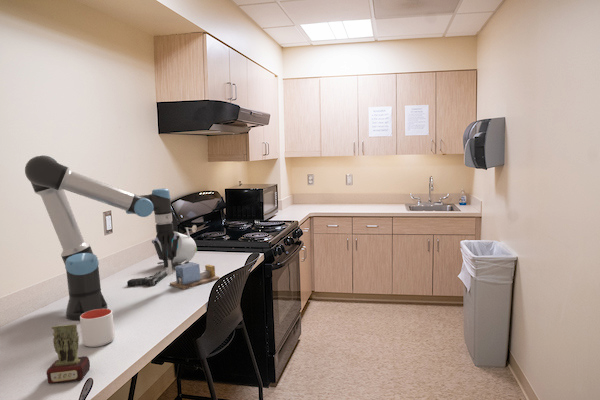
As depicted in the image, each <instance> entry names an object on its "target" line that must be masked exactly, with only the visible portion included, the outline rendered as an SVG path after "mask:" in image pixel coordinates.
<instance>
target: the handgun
mask: <svg viewBox="0 0 600 400" xmlns="http://www.w3.org/2000/svg"><path fill="white" fill-rule="evenodd" d="M168 275H169V274H166V269H163V270H162V271H161V270H160V271H158V272H156V273H155V274H153V275H152V274H151V275H149V276H145V277H137V278H131V279H129V280H128V281H127V287H128V288H131V287H138V286H139V287H141V286H147V287H152V286H153V285H154V286H155V285H157V282H158V283H159V282H160V281H161V280H162V278H163V279H164V278H165V277H166V276H168Z"/></svg>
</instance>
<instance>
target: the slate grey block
mask: <svg viewBox="0 0 600 400" xmlns="http://www.w3.org/2000/svg"><path fill="white" fill-rule="evenodd" d="M174 267H175V279H176V281H177V283H179V278H178V277H182V284H183V285H187V284H190V283H194V282H197V281H201V280H200V272H201V271H200V264H199V263H197V262H186V263H184V264H183V265H181V264H178V265H176V266H174Z"/></svg>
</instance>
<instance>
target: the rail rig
mask: <svg viewBox="0 0 600 400" xmlns="http://www.w3.org/2000/svg"><path fill="white" fill-rule="evenodd" d="M204 267H205V270H201V271H200V280H201V281H197V282H194V283H190V284H187V285H183V284H182V277H178V278H179V283H177V281H172V282H169V285H170V286H171V285H172V287H174V286H175V288H177V287H178V288H179V289H180V290H187V289H190V288H194V287H197V286H200V285H201V286H202V285H205V284H208V283H210V282H214V281H218V280H220V279H221V278H220V276H218V275H216V268H215V265H212V264H206V265H205V266H204ZM219 278H220V279H219Z"/></svg>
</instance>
